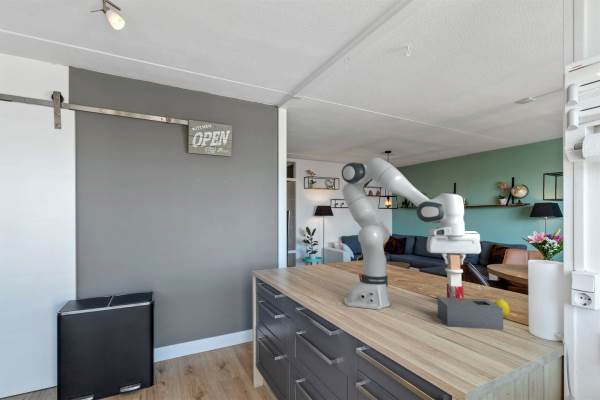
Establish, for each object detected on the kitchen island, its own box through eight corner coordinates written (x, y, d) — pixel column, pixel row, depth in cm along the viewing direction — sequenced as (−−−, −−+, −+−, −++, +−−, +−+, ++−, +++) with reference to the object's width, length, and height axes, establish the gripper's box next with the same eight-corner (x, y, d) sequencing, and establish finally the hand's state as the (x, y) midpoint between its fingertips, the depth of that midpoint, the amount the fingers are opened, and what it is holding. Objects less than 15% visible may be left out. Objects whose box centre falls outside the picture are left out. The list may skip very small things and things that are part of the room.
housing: (447, 326, 110) (447, 305, 111) (437, 315, 122) (437, 297, 123) (503, 329, 107) (502, 308, 108) (487, 318, 119) (487, 299, 119)
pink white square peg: (449, 286, 114) (448, 255, 114) (443, 282, 120) (442, 253, 121) (466, 287, 113) (465, 256, 113) (459, 283, 119) (458, 253, 120)
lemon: (505, 321, 115) (504, 301, 116) (491, 317, 120) (490, 298, 121) (512, 319, 118) (511, 299, 118) (498, 315, 123) (497, 296, 123)
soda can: (466, 310, 129) (465, 283, 130) (449, 309, 130) (449, 283, 131) (460, 305, 136) (460, 280, 136) (445, 304, 137) (444, 279, 138)
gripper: (476, 230, 119) (477, 263, 118) (425, 230, 122) (426, 262, 121) (483, 231, 113) (484, 266, 112) (429, 231, 116) (430, 264, 115)
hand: (453, 264), depth 117 cm, fingers closed on pink white square peg, 4 cm apart
